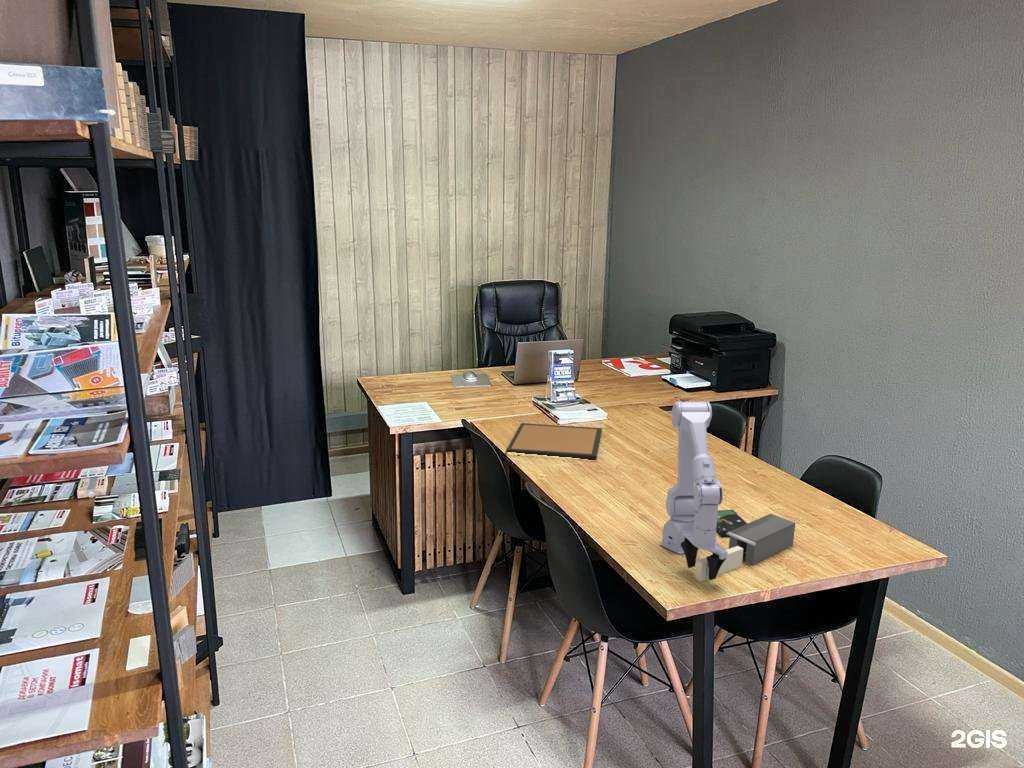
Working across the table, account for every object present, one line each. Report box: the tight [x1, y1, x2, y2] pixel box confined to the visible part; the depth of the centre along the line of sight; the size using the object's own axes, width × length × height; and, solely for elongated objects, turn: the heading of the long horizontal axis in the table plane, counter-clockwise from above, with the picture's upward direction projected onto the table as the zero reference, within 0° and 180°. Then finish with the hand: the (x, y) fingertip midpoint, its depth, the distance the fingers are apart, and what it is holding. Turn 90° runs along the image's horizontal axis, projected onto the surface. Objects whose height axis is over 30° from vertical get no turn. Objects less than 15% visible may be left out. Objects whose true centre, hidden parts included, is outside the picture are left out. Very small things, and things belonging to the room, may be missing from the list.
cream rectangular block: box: [694, 546, 744, 582], centre depth 205 cm, size 16×2×6 cm, turn 122°
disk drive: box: [716, 509, 748, 539], centre depth 233 cm, size 10×3×15 cm
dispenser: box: [728, 513, 796, 566], centre depth 217 cm, size 21×9×7 cm, turn 128°
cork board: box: [505, 422, 603, 461], centre depth 308 cm, size 36×3×35 cm
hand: (701, 572), depth 201 cm, fingers open, 7 cm apart
